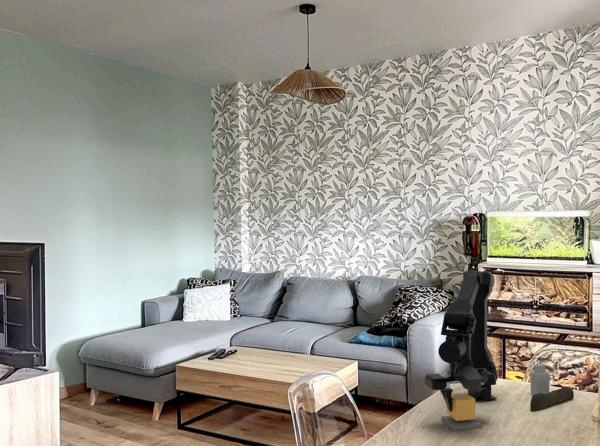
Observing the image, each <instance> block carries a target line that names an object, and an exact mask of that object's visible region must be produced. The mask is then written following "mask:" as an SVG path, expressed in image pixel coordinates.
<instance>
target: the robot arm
mask: <svg viewBox="0 0 600 446" xmlns="http://www.w3.org/2000/svg"><path fill="white" fill-rule="evenodd" d="M494 286H495V275H494V274H492V273H491V272H490V271H485V270H484V271H480V270H465V271H463V275H462V283H461V286H460V288H459V292H458V294H457V298H456V299H455V301H454V302H452V303H450V304H449V306H448V307H447V309H446V311H445V312H444V315H443V320H442V326H441V331H440V336H445V340H444V341H443V342H442V343H440V345H439V347H438V351H437V352H438V356H439V357H440V359H441V360H442V361H443V362H445V363H446V364H448V366H449V369H448V370H447V371H446V373H447V375H448V376H443V375H441V374H440V373H428V374H426V375H425V377H424V385H426V386H427V387H428V388H430V389H431V390H433V391H440V394H441V396H442V398H443V400H444V403H445V404H446V408H447V407H448V410H449V411H450V412H452V397H451V394H453V390H454V389H453V388H451V385H452V384H461V386H462V388H463V389H465V390H467V394H468V395H470V396H471V397H473V398H474V399H475V403H476V402H484V401H485V402H486V401H494V400H496V399H497V398H496V397H495V396H494V395H492V386H496V385H497V381H498V372H497V367H496V364H495V362H494V361H493V358H494V357H493V354H492V352H491V350H490V349H489V347H488V299H489V298H490V296H491V294H492V292H493V289H494Z"/></svg>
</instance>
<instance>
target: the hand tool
mask: <svg viewBox="0 0 600 446" xmlns="http://www.w3.org/2000/svg"><path fill="white" fill-rule="evenodd" d="M574 394H575V393H574V389H572V387H569V386H566V385H564V386H561V388H558V389H555V390H551V391H549V393H546V394H543V393H538V394H534V395H531V399H530V411H531V412H536V411H537V412H538V411H541V410H546V409H547V407H549V406H551V405H555V404H558V403H561V402H565V401H567V400H570V401H573V400H574V399H575V397H574V396H575V395H574Z"/></svg>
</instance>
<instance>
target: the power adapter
mask: <svg viewBox="0 0 600 446" xmlns="http://www.w3.org/2000/svg"><path fill="white" fill-rule="evenodd" d="M540 360H541V363H539V358H538V357H536V363H534V364H533V371H530V395H531V396H532V395H534V394H538V393H543V394H546V393H549V392H550V372H549V371H546V369H547V368H546V365H547V364H546V363H543V356H541V359H540Z"/></svg>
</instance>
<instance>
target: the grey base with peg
mask: <svg viewBox="0 0 600 446" xmlns="http://www.w3.org/2000/svg"><path fill="white" fill-rule="evenodd" d="M440 420H441V421H442V422H444V424H445V425H447V426H448V427H449V428H450V429H451V430H453V431H463V430H471V429H472V430H473V429H482V423H481V422H479V421H478V420H477V419H476V418H475V419H470V420H460V421H456V420H455V419H453V418H452V417H451V416H450V415H448V414H447V415H441V416H440Z"/></svg>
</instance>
